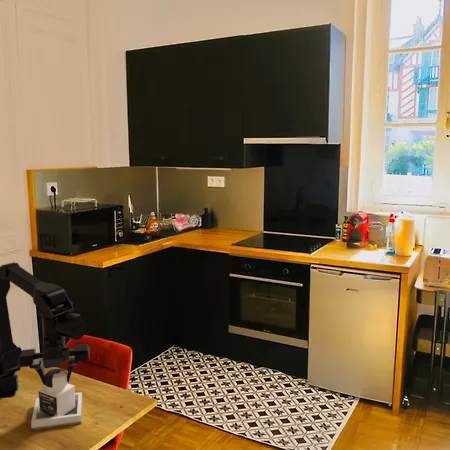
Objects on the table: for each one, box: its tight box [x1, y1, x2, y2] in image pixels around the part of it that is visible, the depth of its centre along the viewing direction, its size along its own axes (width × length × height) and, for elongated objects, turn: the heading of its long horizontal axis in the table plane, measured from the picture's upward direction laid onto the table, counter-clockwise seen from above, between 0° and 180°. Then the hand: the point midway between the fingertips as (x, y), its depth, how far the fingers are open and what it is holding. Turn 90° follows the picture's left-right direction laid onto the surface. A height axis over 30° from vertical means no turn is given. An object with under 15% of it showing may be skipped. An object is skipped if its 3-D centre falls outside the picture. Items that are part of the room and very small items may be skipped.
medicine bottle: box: [38, 368, 76, 417], centre depth 139 cm, size 7×7×12 cm
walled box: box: [30, 391, 83, 431], centre depth 140 cm, size 13×13×2 cm
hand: (56, 382), depth 138 cm, fingers closed on medicine bottle, 6 cm apart
